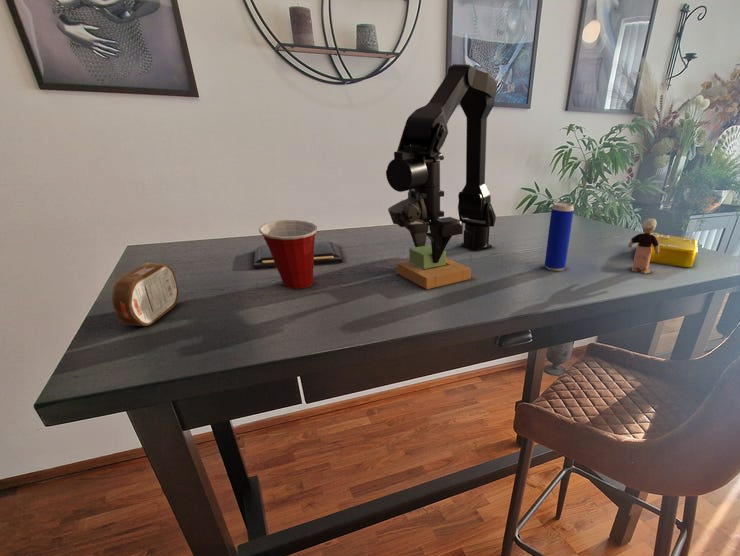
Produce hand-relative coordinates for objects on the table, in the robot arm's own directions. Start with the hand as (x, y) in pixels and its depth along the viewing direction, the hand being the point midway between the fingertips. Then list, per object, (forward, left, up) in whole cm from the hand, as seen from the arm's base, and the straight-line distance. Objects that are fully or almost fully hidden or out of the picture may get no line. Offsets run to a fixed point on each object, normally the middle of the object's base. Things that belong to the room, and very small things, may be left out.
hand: (427, 259), depth 101 cm
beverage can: (-29, +13, -4) cm, 32 cm away
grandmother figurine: (-46, +26, -4) cm, 53 cm away
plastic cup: (+27, -9, -4) cm, 29 cm away
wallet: (+20, -28, -4) cm, 34 cm away
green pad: (0, 0, -1) cm, 1 cm away
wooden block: (0, +2, -3) cm, 4 cm away
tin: (+53, -6, -4) cm, 53 cm away
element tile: (-63, +23, -4) cm, 67 cm away
